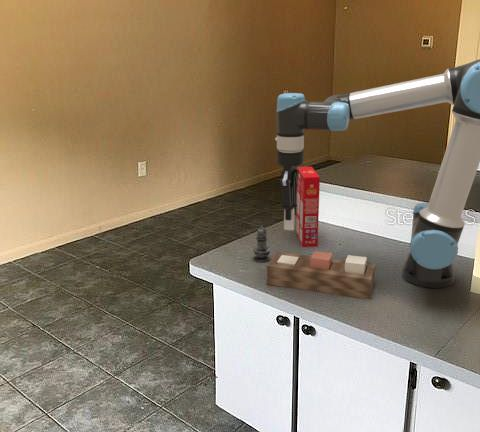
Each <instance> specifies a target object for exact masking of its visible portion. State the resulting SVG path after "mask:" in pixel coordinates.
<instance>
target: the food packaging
mask: <svg viewBox="0 0 480 432" xmlns="http://www.w3.org/2000/svg"><path fill="white" fill-rule="evenodd" d="M297 170H299V175H298V186H297V202H296V203H295V204H297V207H295V208H296V214H295V215H296V216H295V234H296V233H297V234H296V236H297V238H298V240H299V243H300V244H301V247H302V248H313V247H319V246H318V242H319V237H318V236H319V214H320V213H319V212H320V209H319V208H320V189H321V187H320V185H321V184H320V183H321V177H320V175H319V174H318V173H317V171H316V170H315V169H314V168H313V166H297Z"/></svg>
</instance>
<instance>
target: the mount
mask: <svg viewBox="0 0 480 432" xmlns="http://www.w3.org/2000/svg"><path fill="white" fill-rule="evenodd" d="M281 255H286V256H294V257H299V261H298V263H297V264H296V266H291V265H284V264H277V261H278V260H279V258H280V257H281ZM311 256H312V255H303V254H296V253H288V252H279V251H277V252H275V254H274V256H273V257H272V258H271V260H269V261H268V262H269V263H268V264H267V265H266V285H267V286H268V285H269V286H274V287H275V286H277V287H283V288H289V287H290V288H291V289H296V288H297V290H302V291H303V290H304V291H312V292H318V293H324V294H331V293H332V294H331V295H333V294H334V295H338V294H339V295H340V296H347V297H354V298H358V299H361V298H362V299H367V300H370V299H371V295H372V290H373V288H374V284H375V276H376V275H375V273H376V272H375V271H376V263H370V262H366V272H365V275H362V274H354V273H346V272H345V261H346V259H339V258H332V266H331V268H330V270H323V269H315V268H310V258H311Z"/></svg>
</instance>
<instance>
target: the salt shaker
mask: <svg viewBox="0 0 480 432" xmlns="http://www.w3.org/2000/svg"><path fill="white" fill-rule="evenodd" d="M267 240H268V237H267V229H266V228H265V227H264V226H263V224H262V225H260V227H258V228H257V236H256V241H257V242H256V244H257V245H256V246H254V247H253V248H252V250H253V254H254V255H255V256H254V258H253V260H254V261H255V262H257V263H267V262H270V261H271V260H270V259H271V258H270V257H269V255H270V253H271V247H270V246H268V245H267Z"/></svg>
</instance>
